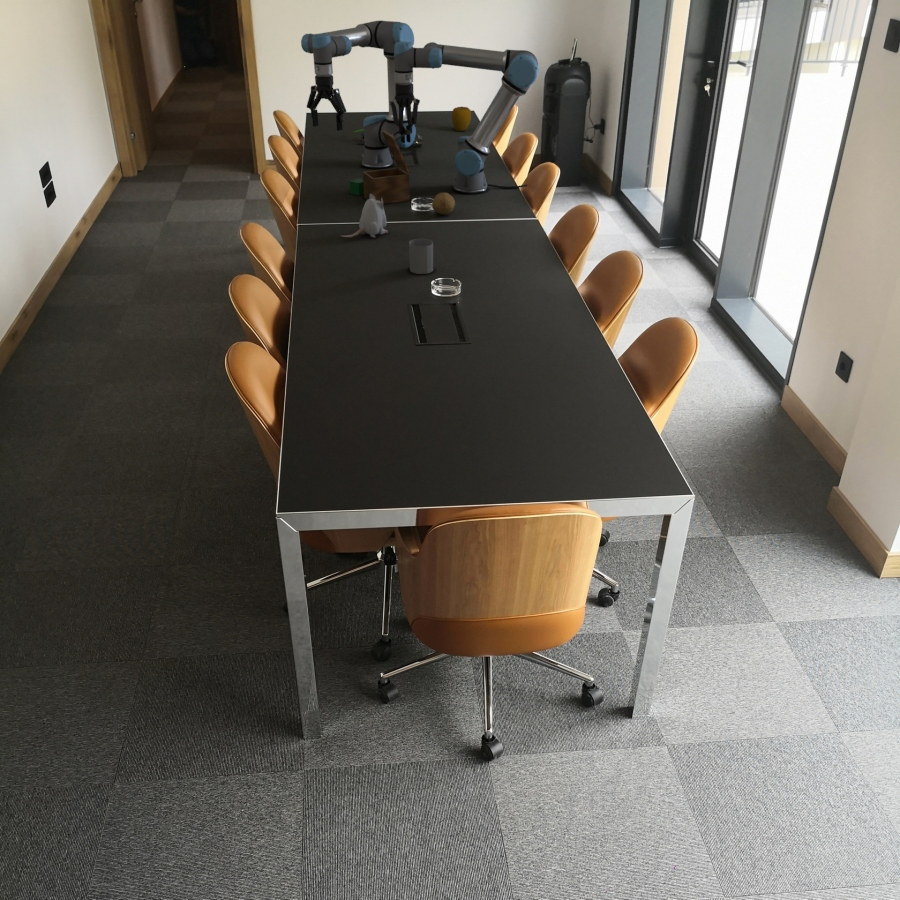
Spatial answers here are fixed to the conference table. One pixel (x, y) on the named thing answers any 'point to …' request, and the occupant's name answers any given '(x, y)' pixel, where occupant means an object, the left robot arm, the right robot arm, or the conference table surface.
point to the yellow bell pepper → (461, 118)
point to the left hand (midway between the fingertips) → (327, 128)
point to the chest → (387, 185)
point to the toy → (372, 218)
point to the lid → (396, 148)
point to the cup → (421, 256)
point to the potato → (443, 203)
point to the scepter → (362, 137)
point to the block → (357, 187)
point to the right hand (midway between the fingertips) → (405, 141)
